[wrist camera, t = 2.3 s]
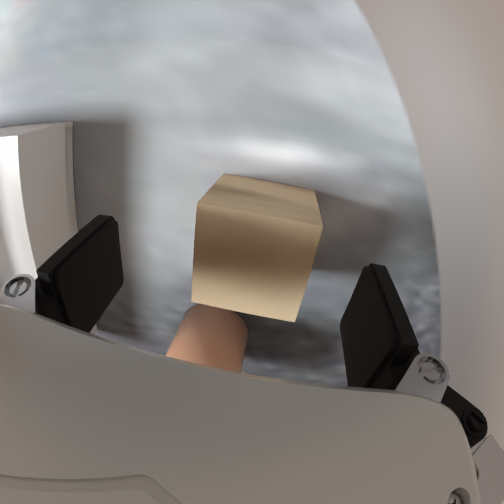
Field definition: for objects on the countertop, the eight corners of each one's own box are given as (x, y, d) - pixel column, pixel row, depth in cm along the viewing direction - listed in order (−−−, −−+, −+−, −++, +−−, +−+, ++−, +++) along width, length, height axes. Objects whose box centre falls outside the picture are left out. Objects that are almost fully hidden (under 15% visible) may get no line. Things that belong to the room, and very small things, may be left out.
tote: (97, 329, 24) (71, 367, 19) (6, 291, 24) (-19, 316, 20) (72, 121, 15) (17, 135, 10) (-24, 131, 15) (-63, 146, 11)
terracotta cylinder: (243, 357, 22) (228, 433, 16) (182, 343, 23) (154, 414, 16) (253, 311, 20) (236, 395, 14) (182, 296, 20) (145, 372, 14)
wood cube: (295, 267, 18) (294, 322, 14) (215, 252, 18) (191, 301, 14) (314, 190, 16) (323, 226, 11) (223, 173, 16) (197, 202, 11)
